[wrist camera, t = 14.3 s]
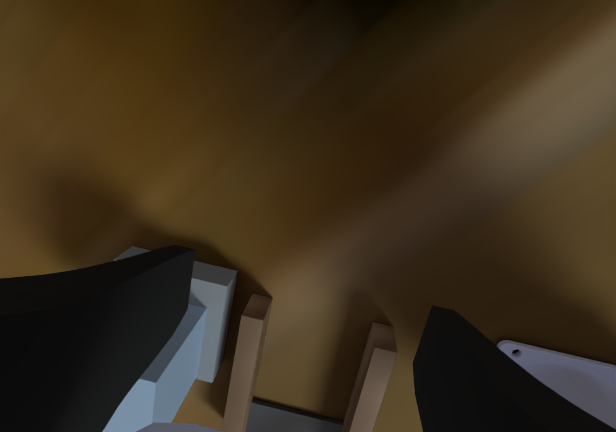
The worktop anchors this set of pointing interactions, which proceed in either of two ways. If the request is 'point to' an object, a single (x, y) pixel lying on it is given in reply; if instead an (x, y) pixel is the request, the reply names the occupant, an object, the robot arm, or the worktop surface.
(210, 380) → the stand
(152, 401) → the block
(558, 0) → the worktop surface
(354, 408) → the channel
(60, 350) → the robot arm
